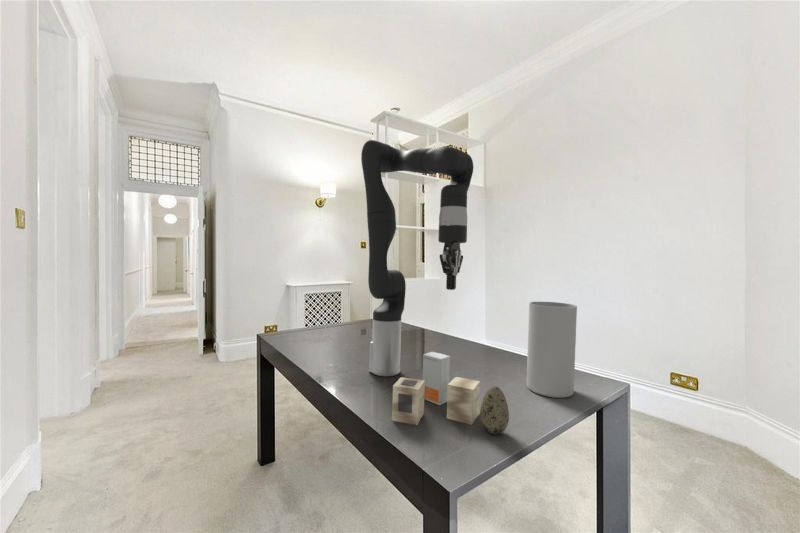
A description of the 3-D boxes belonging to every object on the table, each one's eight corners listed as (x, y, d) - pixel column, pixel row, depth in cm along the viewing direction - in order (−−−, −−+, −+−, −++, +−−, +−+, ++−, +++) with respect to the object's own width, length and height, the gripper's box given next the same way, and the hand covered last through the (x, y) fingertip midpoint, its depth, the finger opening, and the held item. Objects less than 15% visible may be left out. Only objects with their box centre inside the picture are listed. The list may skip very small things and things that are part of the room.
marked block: (391, 420, 75) (392, 385, 75) (399, 409, 81) (400, 376, 81) (417, 425, 74) (418, 389, 73) (423, 413, 79) (424, 379, 79)
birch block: (446, 418, 77) (447, 384, 77) (454, 408, 83) (455, 376, 82) (472, 425, 75) (473, 389, 74) (478, 414, 80) (479, 381, 80)
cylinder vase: (584, 396, 92) (587, 307, 92) (546, 401, 89) (550, 307, 88) (551, 380, 104) (554, 301, 104) (517, 383, 101) (520, 301, 100)
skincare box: (421, 398, 88) (422, 353, 87) (431, 394, 91) (432, 350, 91) (439, 406, 84) (441, 359, 83) (449, 401, 87) (450, 355, 86)
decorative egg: (503, 426, 74) (505, 381, 74) (511, 440, 68) (513, 392, 68) (476, 425, 74) (478, 380, 74) (482, 439, 68) (484, 391, 68)
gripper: (447, 227, 97) (446, 287, 97) (430, 222, 85) (428, 290, 85) (473, 227, 93) (471, 288, 93) (458, 221, 81) (456, 292, 82)
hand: (450, 289), depth 89 cm, fingers closed
